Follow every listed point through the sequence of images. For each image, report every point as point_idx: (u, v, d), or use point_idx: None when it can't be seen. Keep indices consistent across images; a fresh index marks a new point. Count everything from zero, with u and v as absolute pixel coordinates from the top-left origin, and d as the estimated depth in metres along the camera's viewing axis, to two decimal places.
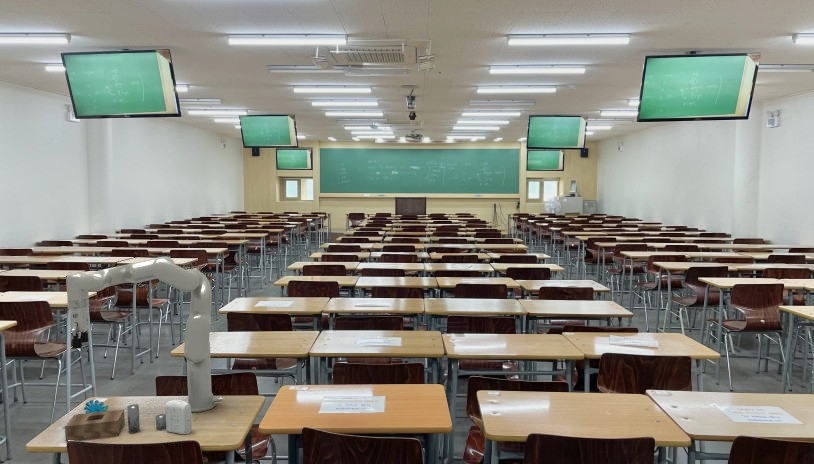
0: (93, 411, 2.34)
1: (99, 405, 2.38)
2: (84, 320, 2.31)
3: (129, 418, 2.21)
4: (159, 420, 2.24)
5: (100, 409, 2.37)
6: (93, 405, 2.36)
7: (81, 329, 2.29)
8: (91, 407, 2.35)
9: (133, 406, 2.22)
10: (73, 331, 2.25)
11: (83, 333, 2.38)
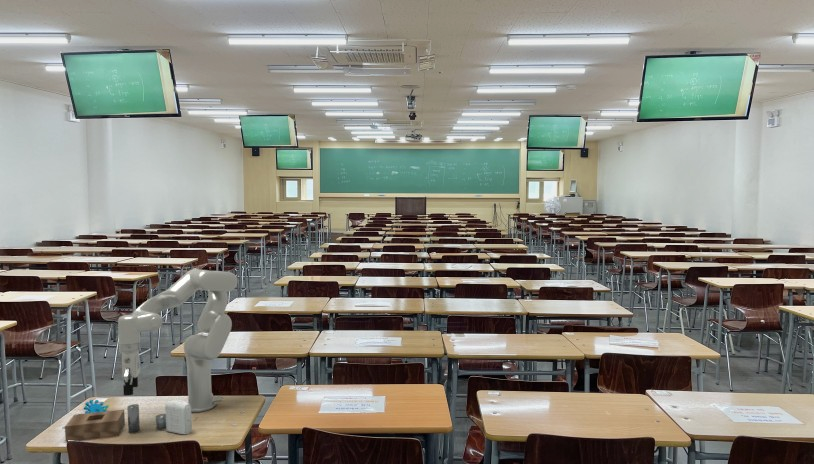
0: (93, 411, 2.34)
1: (99, 405, 2.39)
2: (136, 365, 2.19)
3: (129, 418, 2.21)
4: (159, 420, 2.24)
5: (100, 409, 2.37)
6: (93, 405, 2.36)
7: (133, 374, 2.17)
8: (91, 407, 2.35)
9: (133, 406, 2.22)
10: (125, 377, 2.13)
11: (133, 377, 2.26)
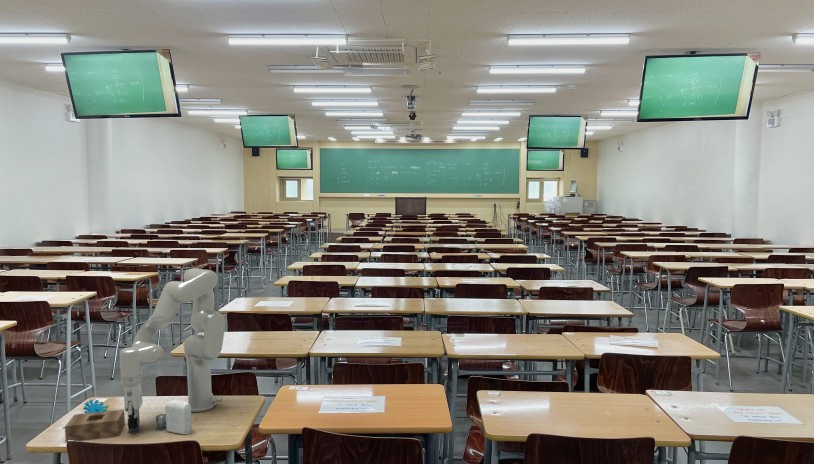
0: (92, 411, 2.34)
1: (99, 405, 2.39)
2: (138, 397, 2.20)
3: None
4: (159, 420, 2.24)
5: (99, 409, 2.37)
6: (93, 405, 2.37)
7: (136, 407, 2.18)
8: (90, 407, 2.35)
9: None
10: (129, 415, 2.16)
11: None
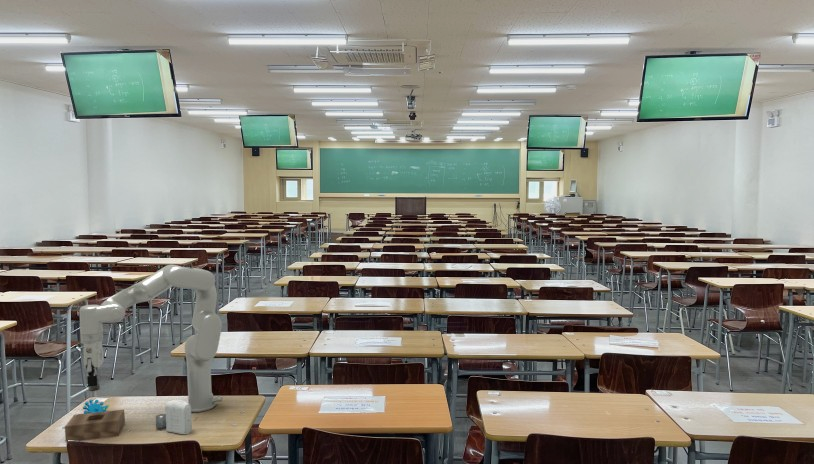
0: (92, 411, 2.34)
1: (98, 405, 2.39)
2: (98, 355, 2.18)
3: None
4: (159, 420, 2.24)
5: (99, 409, 2.37)
6: (92, 405, 2.37)
7: (95, 364, 2.16)
8: (90, 407, 2.35)
9: None
10: (88, 371, 2.14)
11: None
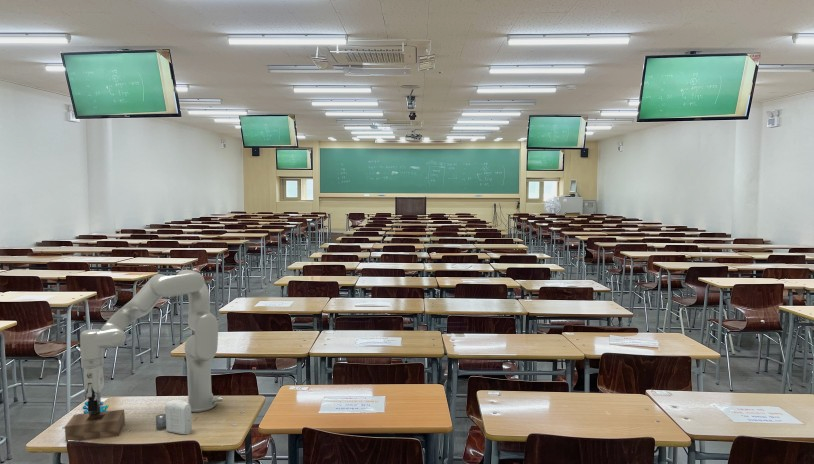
0: None
1: None
2: (98, 380, 2.19)
3: None
4: (159, 420, 2.24)
5: None
6: None
7: (96, 389, 2.17)
8: None
9: None
10: (89, 397, 2.15)
11: None
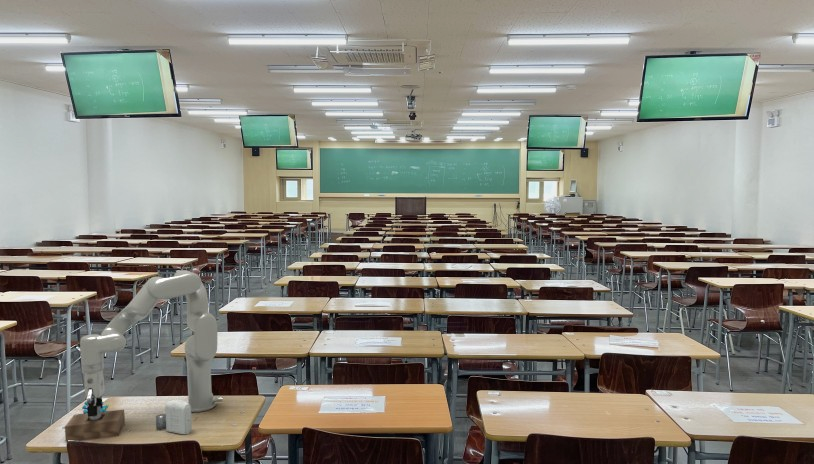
0: None
1: None
2: (99, 385, 2.19)
3: (91, 420, 2.20)
4: (159, 420, 2.24)
5: None
6: None
7: (96, 394, 2.17)
8: None
9: None
10: (88, 400, 2.14)
11: (97, 398, 2.25)
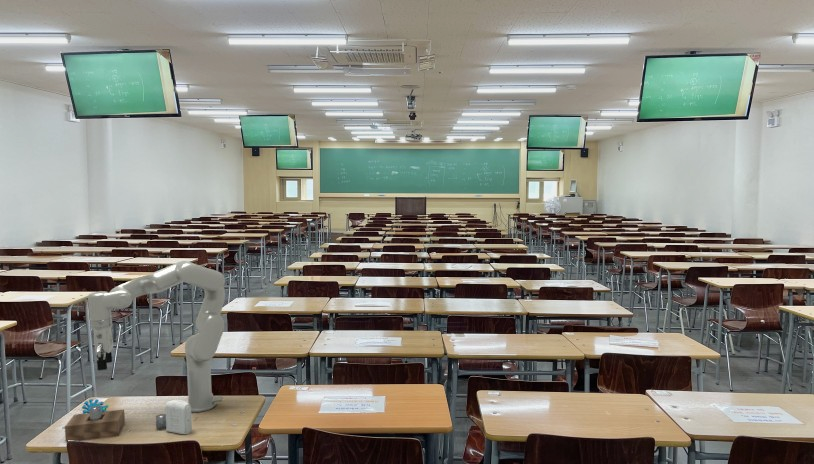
0: None
1: (98, 404, 2.39)
2: (108, 340, 2.22)
3: (91, 419, 2.20)
4: (159, 420, 2.24)
5: None
6: (92, 404, 2.37)
7: (106, 349, 2.21)
8: (89, 406, 2.36)
9: (95, 407, 2.21)
10: (98, 352, 2.17)
11: (107, 353, 2.30)
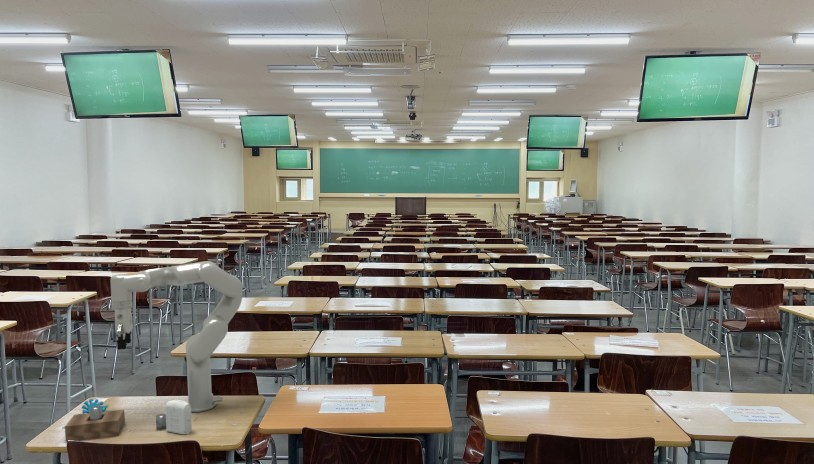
0: None
1: (98, 404, 2.39)
2: (128, 321, 2.31)
3: (91, 419, 2.20)
4: (159, 420, 2.24)
5: None
6: (92, 404, 2.37)
7: (126, 329, 2.30)
8: (89, 406, 2.36)
9: (95, 407, 2.21)
10: (118, 332, 2.26)
11: (126, 334, 2.39)
